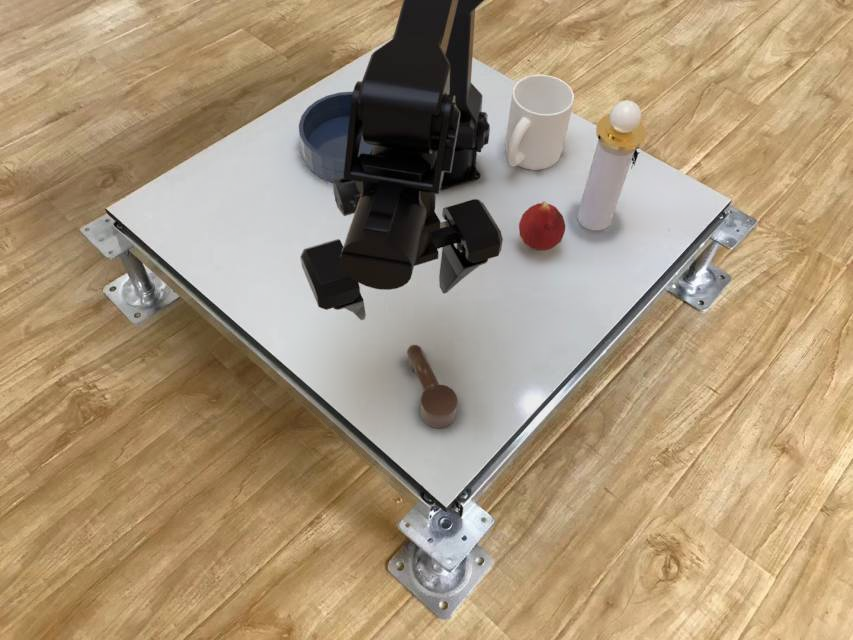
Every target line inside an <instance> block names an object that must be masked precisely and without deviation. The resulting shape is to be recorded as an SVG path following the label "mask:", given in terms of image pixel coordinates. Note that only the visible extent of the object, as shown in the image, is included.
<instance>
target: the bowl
mask: <svg viewBox="0 0 853 640" xmlns="http://www.w3.org/2000/svg"><path fill="white" fill-rule="evenodd" d="M352 94H353V91H341V92H336V93H331V94H328V95H325V96H324V97H321V98H319V99H317V100H315V101H314V102H312V103H311V104H310V105H309V106H308V107H307V108H306V109H305V110H304V111H303V113H302V114H301V116H300V120H299V122H298V134H299V141H300V147H301V148H300V149H301V155H302V158H303V161H304V163H305V165H306V167H307V168H308V169H309V170H310V171H311V172H312V173H313V174H314V175H316V176H317V177H319V178H320V179H322V180H324V181H326V182H329V183H332V184H333V180H336V179H339V178H343V177H344V167H345V157H346V147H347V137H348V128H349V118H350V108H351V100H352ZM374 146H375V145H370V144H366V143H365V142H364V139H363V133H362V136H361V142H360V148H359V153H358V156H359V155H360V154H362V153H364V154H370V153H371V151H372V150H373V148H374Z"/></svg>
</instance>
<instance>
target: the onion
mask: <svg viewBox="0 0 853 640" xmlns="http://www.w3.org/2000/svg"><path fill="white" fill-rule="evenodd" d="M518 231H519V236H520V238H521V239H522V241H523V243H524V244H525V245H526V246H527V247H529V248H530V249H532V250H535V251H539V252H540V251H543V252H545V251H548V250H549V251H550V250H552V249H553V248H555V247H556V246H557V245H559V244H560V243H561V242H562V240H563V238H564V235H565V232H566V222H565V219H564V215H563V214H562V213H561V212H560V211H559V209H558V208H557V207H556V206H555V205H553V204H550V203H547V201H542V202H541V203H540V202H539V203H536V204H533V205H532V206H529V208H527V209H526V210H525V211H524V213H522V216H521V218H520V221H519V223H518Z"/></svg>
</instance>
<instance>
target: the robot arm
mask: <svg viewBox="0 0 853 640" xmlns="http://www.w3.org/2000/svg"><path fill="white" fill-rule="evenodd" d="M484 1H485V0H402V5H401V8H400V11H399V14H398V15H399V16H398V18H397V22H396V27H395V30H394V31H393V32H394V33H393V36H392V38H391V39H390V40H389V41H388V42H386V43H385V44H384V45H382V46H381V47H379V48H377V49H376V50H374V51H373V52H372V53H371V55H370V58H369V59H368V60H369V61H368V64H367V65H366V69H365V72H364V74H363V77H362V80H358V81H356V83H355V85H354V87H353V90H352V92H353V94H352V100H351V108H350V118H349V128H348V137H347V147H346V157H345V167H344V177H343V178H339V179H336V180H333V183H332V186H333V187H332V188H333V190H332V191H333V195H334V201H335V204H336V207H337V209H338V210H339V212H340V213H341V215H342V216H343V217H347V216H350V215H353V217H352V219H351V223H350V226H349V229H348V232H347V235H346V238H345V240H344V244H343V243H342V241H341V239H339V238H337V239H333V240H330V241H327V242H323V243H319V244H316V245H313V246H310V247H306V248H304V249H303V250H302V252H301V254H300V257H299V258H300V262H301V269H302V270H303V272H304V275H305V277H306V280H307V283H308V284H309V287H310V290H311V292H312V294H313V297H314V299H315V302H316V304H317V306H318V308H320V309H323V310H326V311H328V310H330V309H334V310H336V311H337V310H342V309H345V310H347V311H349V312H351V313H353V314H354V315H355V316H356V317H357V318H358V319H359V320H360V321H363V320H365V319H366V316H367V314H366V307H365V301H364V298H363V296H362V294H361V286H360V284H361V285H362V286H365V287H368V288H371V289H376V290H381V291H382V290H383V291H384V290H385V291H386V290H387V291H390V290H396V289H399V288H402V287H404V286H406V285H407V284H408V283H409V282H410V280H411V279H412V276H413V273H414V272H413V271H414V268H415V267H417V266H419V265H422V264H425V263H429V262H431V261H435V260H439V252H440V251H439V249H441V248H442V249H441V257H440V265H439V276H438V281H439V284H438V285H439V288H440V291H441V293H442V294H443V295H444V294H447V293H449V292H450V291H451V290H452V289H453V288H454V287H456V285H457V284H458V283H460V282H461V281H462V280H463V279H465V278H466V277H468V275H470V274H471V273H472V272H473V271H475V270H476V269H477V268H478V267H480V266H482V265H485V264H487V262H488V261H489V259H490V260H491V259H493V258H496V257H499V255H500V253H501V251H502V247H503V241H504V239H503V235H502V230H501V229H500V227H499V226H498V224H497V222H496V221H495V219H494V217H493V216H492V214H491V213H490V211H489V209H488V208H487V206H486V205H485V203H484V202H482V201H481V200H480V199H476V198H474V199H469V200H466V201H463V202H460V203H456V204H453V205H450V206H446V207H443V208H442V214H441V216H442V217H443V220H444V221H441V220H440V218H439V217H438V215H437V213H436V198H437V197H436V196H437V195H440V193H441V191H443V190H446V189H449V188H453V187H457V186H460V185H463V184H466V183H470V182H474V181H476V180H479V179H480V178H481V174H480V172H479V170H478V169H477V167H476V165H477V155H478V153H481V152H482V149H483V148H484V146H487V145H488V144H489V140H490V133H491V127H490V123H489V122H488V116H489V115H488V113H487V112H486V111H483V94H482V93H481V92H480V91H479V89H478V88H476V86H474V84H473V83H472V72H473V71H472V70H473V56H474V55H473V54H474V36H475V22H476V21H475V20H476V18H475V17H476V9H477V8H478V7H479V6H481V4H483V2H484ZM362 133H363V139H364V142H365V143H366V144H370V145H375V146H374V148H373V150H372V151H371V153H370V154H364V153H362V154H360V155H359V156H358V153H359V148H360V142H361V136H362Z"/></svg>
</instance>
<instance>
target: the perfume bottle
mask: <svg viewBox="0 0 853 640" xmlns="http://www.w3.org/2000/svg"><path fill="white" fill-rule="evenodd" d="M642 116H643V115H642V110H641V108H640V106H639V104H637V103H636V102H634V101H632V100H630V99H629V100H628V99H627V100H626V99H624V100H620V101H618V102H617V103H616V104H614V105H613V107H611V110H610V112H609V114H607V115H604V116H603V117H601V118H600V119H599V120H598V121H597V125H596V128H595V134H596V137H597V144H596V147H595V150H594V153H593V158H592V161H591V164H590V168H589V171H588V176H587V178H586V182H585V185H584V189H583V193H582V197H581V201H580V203H579V208H578V211H577V215H576V216H577V220H578V223H579V224H580V225H581V226H582V227H584V228H586V229H588V230H590V231H602V230H605V229H607V228H608V227H609V226H610V225H611V224H612V220H613V218H614V215H615V211H616V208H617V205H618V203H619V199H620V196H621V193H622V191H623V187H624V185H625V182H626V179H627V176H628V173H629V170H630V169H631V170H632V169H633V166H635V165H636V162H637V160H638V156H639V154H640V153H641V152H639V151H638V149H640V148H641V146H642V145H643V143H644V142H645V139H646V135H647V131H646V128H645V126H644V125H643V123H642V122H641V121H642V118H643V117H642ZM631 164H632V165H631ZM630 167H631V168H630Z"/></svg>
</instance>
